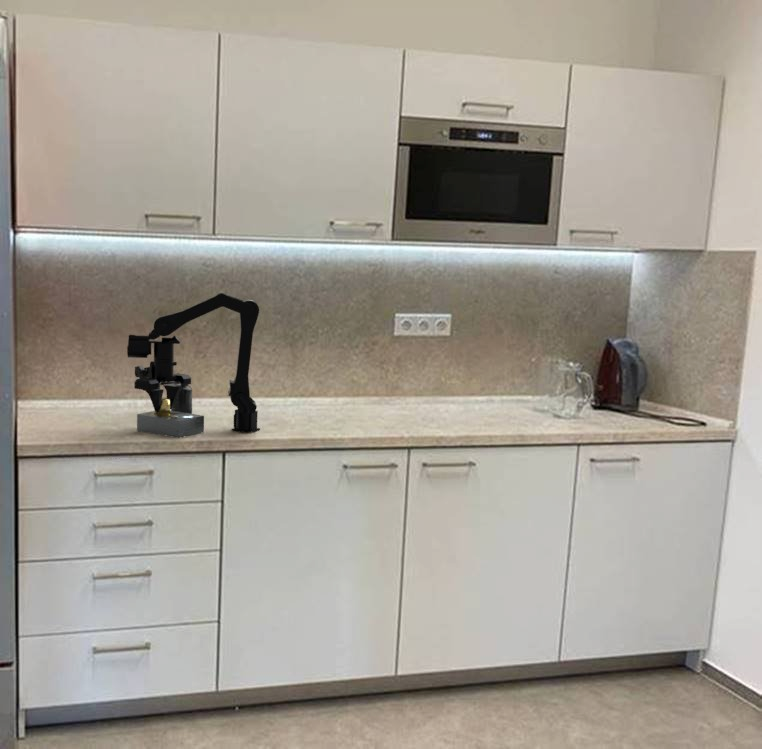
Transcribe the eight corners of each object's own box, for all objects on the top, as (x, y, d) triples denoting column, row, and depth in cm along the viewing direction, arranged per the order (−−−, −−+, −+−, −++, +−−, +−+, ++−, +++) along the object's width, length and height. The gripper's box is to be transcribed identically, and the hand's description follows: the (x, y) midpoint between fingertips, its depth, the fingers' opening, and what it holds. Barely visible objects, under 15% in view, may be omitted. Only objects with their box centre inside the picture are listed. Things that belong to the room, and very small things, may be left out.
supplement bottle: (183, 411, 290) (183, 376, 288) (196, 414, 286) (197, 378, 284) (166, 414, 285) (166, 377, 283) (179, 417, 280) (180, 380, 279)
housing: (203, 432, 258) (204, 415, 258) (179, 438, 249) (179, 420, 248) (162, 425, 266) (162, 408, 265) (137, 430, 256) (137, 413, 255)
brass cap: (175, 425, 259) (176, 398, 258) (163, 427, 255) (164, 400, 254) (162, 422, 262) (162, 396, 261) (150, 425, 257) (150, 398, 256)
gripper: (164, 353, 268) (163, 403, 270) (120, 358, 251) (120, 411, 253) (192, 356, 263) (191, 407, 265) (149, 361, 246) (149, 415, 248)
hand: (163, 410), depth 258 cm, fingers open, 5 cm apart
